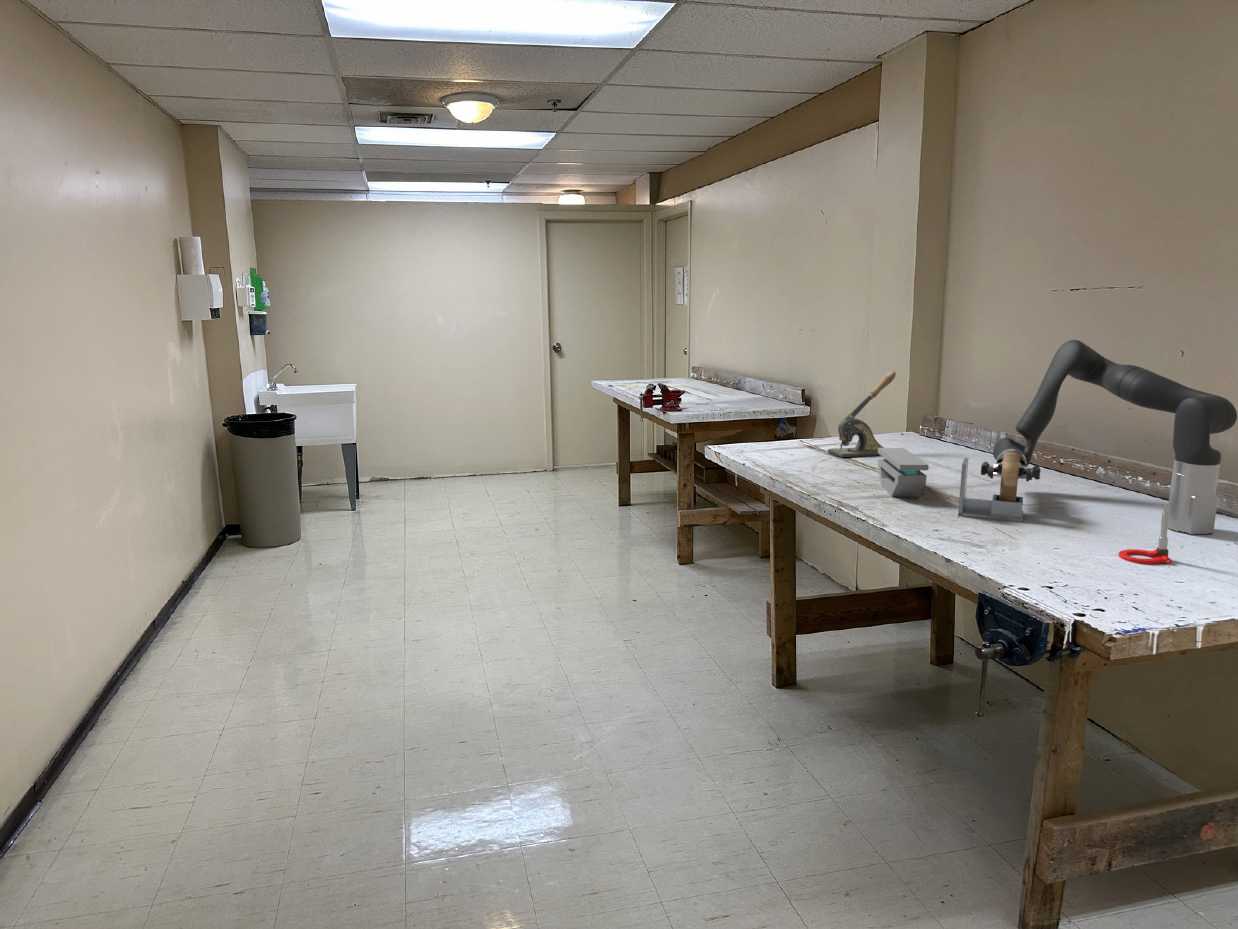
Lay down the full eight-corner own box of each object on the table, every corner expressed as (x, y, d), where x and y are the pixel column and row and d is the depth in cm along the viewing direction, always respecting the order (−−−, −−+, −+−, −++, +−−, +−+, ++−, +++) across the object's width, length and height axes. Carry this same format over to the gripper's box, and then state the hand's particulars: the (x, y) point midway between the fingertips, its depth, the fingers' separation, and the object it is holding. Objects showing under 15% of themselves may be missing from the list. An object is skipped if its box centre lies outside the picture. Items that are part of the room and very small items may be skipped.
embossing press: (825, 453, 304) (829, 371, 297) (884, 449, 309) (888, 369, 302) (839, 458, 293) (843, 374, 287) (899, 455, 298) (905, 372, 292)
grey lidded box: (925, 502, 233) (928, 464, 231) (897, 502, 234) (900, 464, 231) (901, 482, 258) (903, 447, 255) (876, 482, 258) (878, 447, 256)
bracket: (960, 507, 227) (964, 457, 224) (1023, 513, 221) (1027, 462, 218) (958, 515, 219) (962, 464, 216) (1022, 522, 213) (1027, 469, 210)
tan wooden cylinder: (1017, 515, 216) (1023, 455, 213) (1002, 515, 216) (1008, 455, 213) (1009, 511, 220) (1015, 452, 217) (995, 511, 220) (1000, 452, 217)
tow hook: (1126, 565, 181) (1173, 566, 179) (1130, 508, 179) (1178, 508, 176) (1112, 553, 189) (1158, 554, 187) (1116, 499, 187) (1162, 499, 184)
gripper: (984, 448, 231) (981, 459, 217) (1041, 452, 225) (1041, 464, 210) (982, 475, 232) (978, 487, 218) (1038, 479, 226) (1038, 492, 212)
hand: (1009, 476), depth 214 cm, fingers open, 8 cm apart
